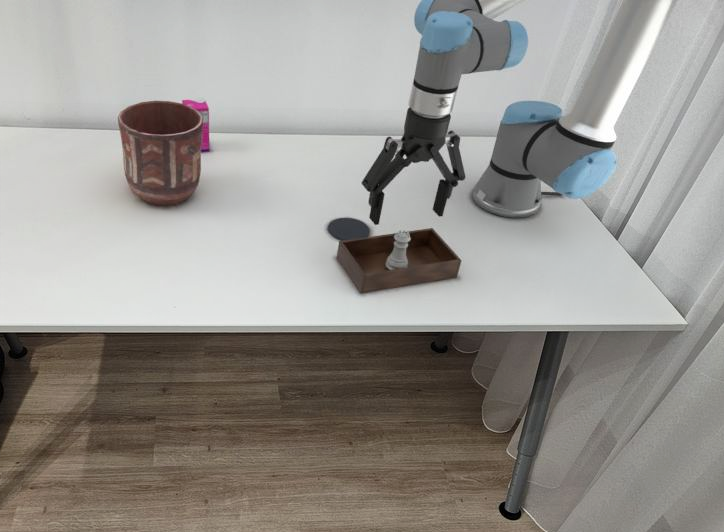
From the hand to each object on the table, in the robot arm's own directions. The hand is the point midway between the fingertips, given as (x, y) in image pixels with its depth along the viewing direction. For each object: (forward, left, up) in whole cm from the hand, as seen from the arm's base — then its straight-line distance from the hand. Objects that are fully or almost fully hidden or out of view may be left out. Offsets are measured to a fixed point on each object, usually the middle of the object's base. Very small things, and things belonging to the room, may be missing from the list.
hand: (406, 217), depth 139 cm
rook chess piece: (0, 0, -12) cm, 12 cm away
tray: (0, 0, -12) cm, 12 cm away
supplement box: (+36, -55, -12) cm, 67 cm away
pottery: (+45, -33, -12) cm, 57 cm away
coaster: (+6, -15, -12) cm, 20 cm away
